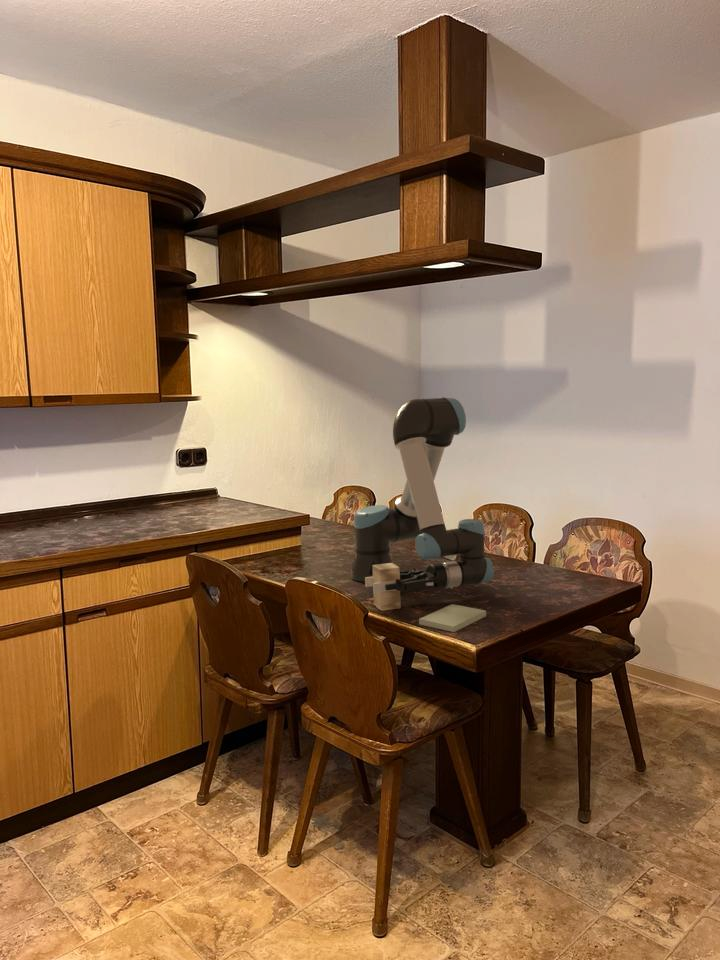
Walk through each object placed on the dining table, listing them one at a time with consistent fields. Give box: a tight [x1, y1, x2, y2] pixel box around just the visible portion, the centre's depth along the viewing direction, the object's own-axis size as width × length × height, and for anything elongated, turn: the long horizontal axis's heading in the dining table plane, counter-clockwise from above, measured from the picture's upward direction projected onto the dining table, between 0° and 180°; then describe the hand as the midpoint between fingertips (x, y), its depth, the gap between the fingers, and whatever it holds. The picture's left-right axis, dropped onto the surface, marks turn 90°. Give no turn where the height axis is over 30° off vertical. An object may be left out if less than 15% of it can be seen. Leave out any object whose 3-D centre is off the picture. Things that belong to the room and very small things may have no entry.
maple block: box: [372, 562, 402, 612], centre depth 210 cm, size 6×6×12 cm
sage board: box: [418, 603, 487, 633], centre depth 197 cm, size 16×11×2 cm
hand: (369, 585), depth 208 cm, fingers closed on maple block, 6 cm apart
